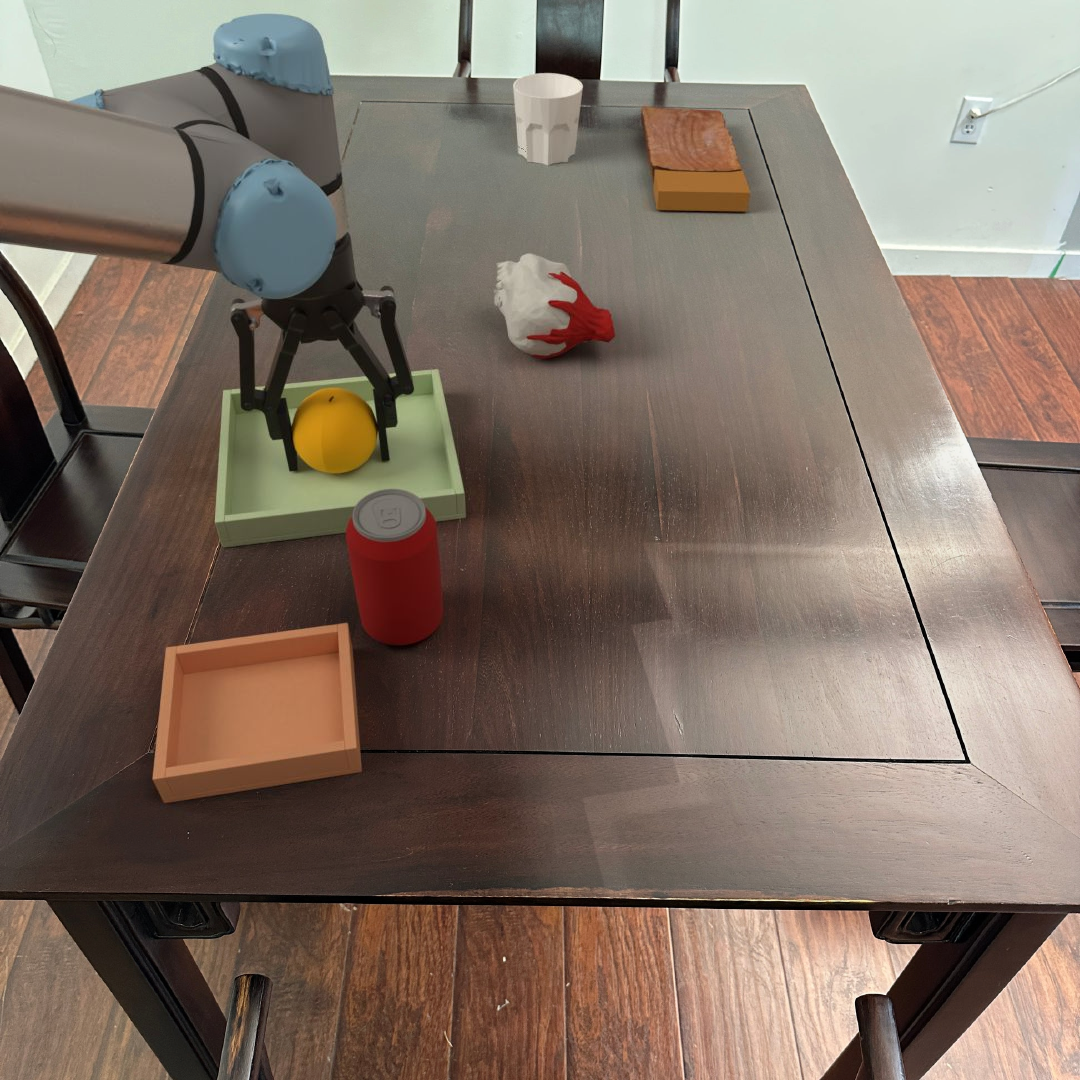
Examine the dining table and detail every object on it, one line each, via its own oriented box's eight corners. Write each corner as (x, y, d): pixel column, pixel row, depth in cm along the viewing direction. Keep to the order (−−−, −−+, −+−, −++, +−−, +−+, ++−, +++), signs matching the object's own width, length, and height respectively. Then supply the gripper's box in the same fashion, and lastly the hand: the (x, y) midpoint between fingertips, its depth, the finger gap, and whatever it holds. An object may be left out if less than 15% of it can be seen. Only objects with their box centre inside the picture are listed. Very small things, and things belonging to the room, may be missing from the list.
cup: (588, 146, 148) (592, 79, 141) (566, 172, 141) (569, 102, 134) (528, 136, 150) (528, 69, 143) (503, 161, 144) (502, 92, 137)
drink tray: (164, 803, 67) (152, 779, 65) (176, 672, 75) (165, 647, 73) (362, 772, 69) (356, 747, 67) (352, 647, 77) (347, 622, 75)
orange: (328, 425, 96) (318, 362, 91) (396, 447, 94) (389, 383, 89) (280, 471, 91) (266, 407, 86) (351, 496, 89) (340, 431, 84)
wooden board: (653, 212, 132) (655, 188, 130) (638, 126, 154) (640, 105, 152) (748, 213, 132) (752, 190, 130) (720, 128, 154) (723, 106, 152)
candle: (494, 305, 113) (617, 336, 112) (467, 356, 105) (600, 390, 104) (502, 234, 107) (633, 267, 106) (475, 284, 99) (616, 319, 98)
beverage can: (439, 585, 82) (430, 478, 74) (448, 646, 77) (439, 539, 69) (359, 594, 81) (341, 487, 73) (363, 657, 76) (343, 549, 68)
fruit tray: (222, 548, 85) (214, 522, 83) (229, 415, 98) (223, 390, 96) (466, 518, 88) (464, 492, 86) (440, 393, 102) (438, 368, 100)
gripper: (427, 204, 81) (442, 422, 97) (170, 223, 78) (229, 444, 94) (438, 247, 76) (452, 469, 92) (162, 268, 73) (226, 495, 88)
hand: (339, 456), depth 93 cm, fingers closed on orange, 8 cm apart
